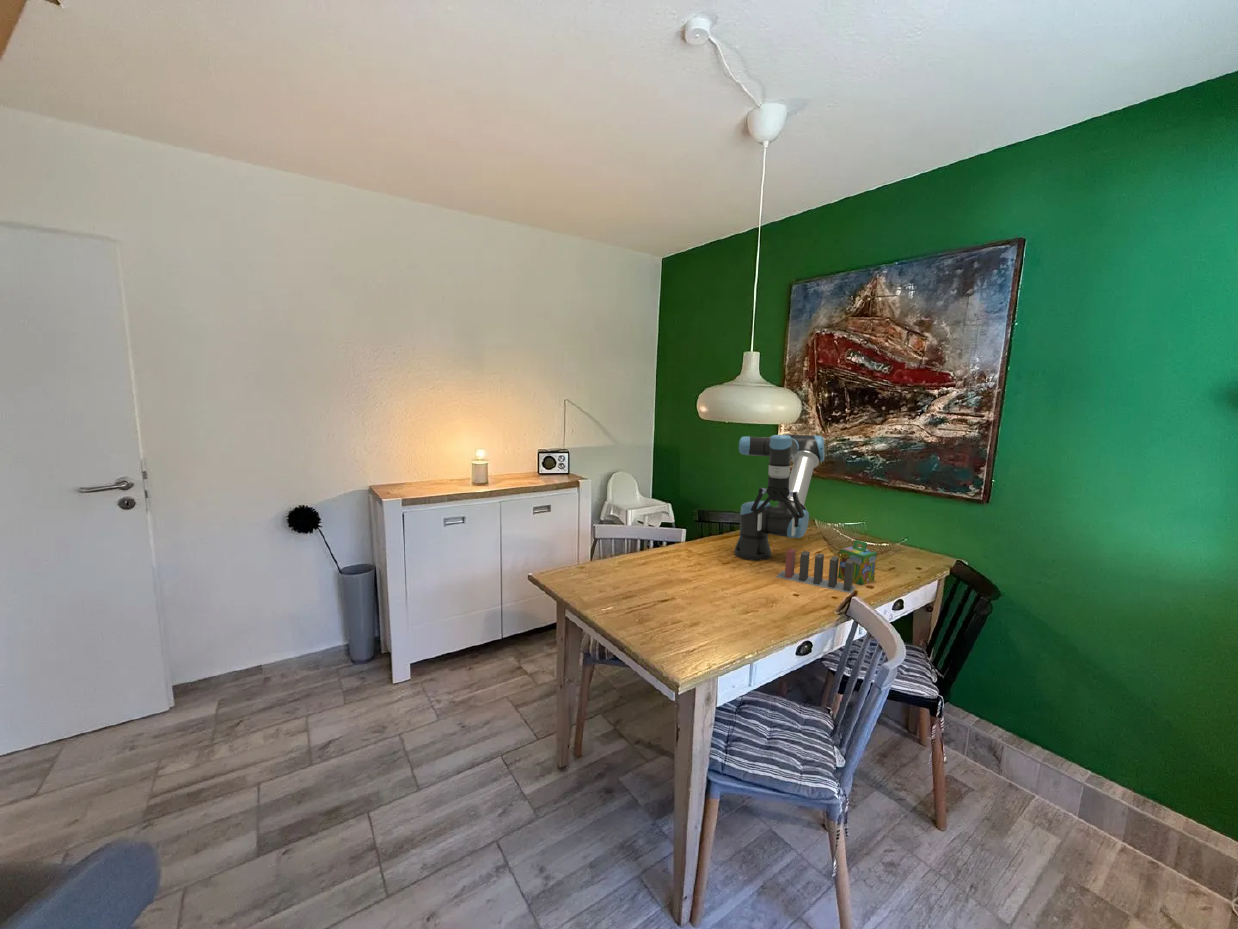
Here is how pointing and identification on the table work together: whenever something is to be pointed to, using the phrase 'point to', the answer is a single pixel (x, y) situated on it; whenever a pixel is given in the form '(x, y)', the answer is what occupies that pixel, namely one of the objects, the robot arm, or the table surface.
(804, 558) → the domino
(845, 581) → the domino
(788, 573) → the domino
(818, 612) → the table surface
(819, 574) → the domino
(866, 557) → the chalk box
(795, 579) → the mat
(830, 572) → the domino
